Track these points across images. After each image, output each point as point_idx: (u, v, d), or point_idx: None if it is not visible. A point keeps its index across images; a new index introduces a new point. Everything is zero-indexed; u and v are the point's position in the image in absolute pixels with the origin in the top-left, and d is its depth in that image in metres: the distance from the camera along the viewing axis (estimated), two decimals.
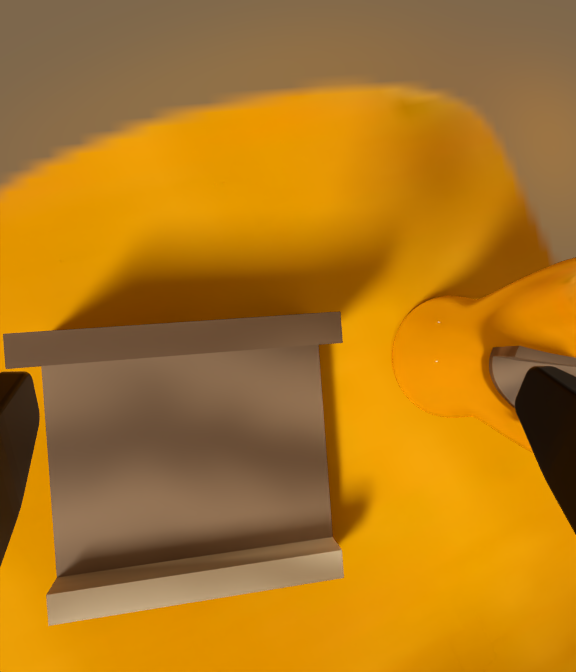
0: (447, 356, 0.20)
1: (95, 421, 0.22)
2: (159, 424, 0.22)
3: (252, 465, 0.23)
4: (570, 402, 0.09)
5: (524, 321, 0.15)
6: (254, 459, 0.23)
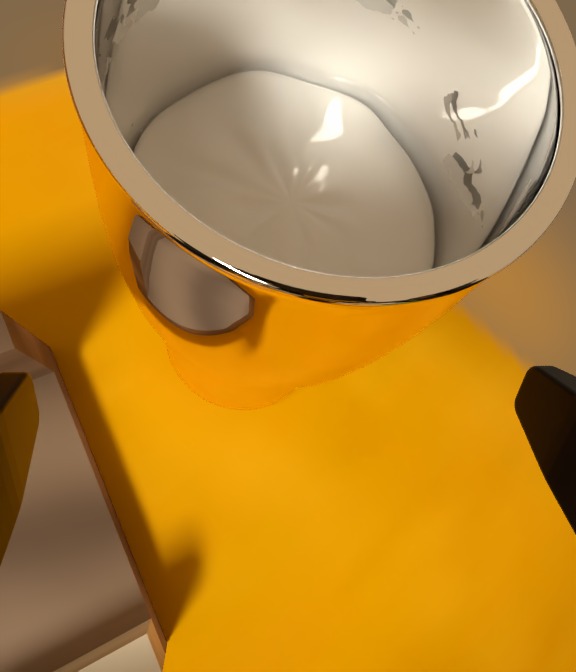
0: None
1: None
2: None
3: (5, 561, 0.16)
4: (570, 402, 0.09)
5: None
6: (6, 552, 0.16)
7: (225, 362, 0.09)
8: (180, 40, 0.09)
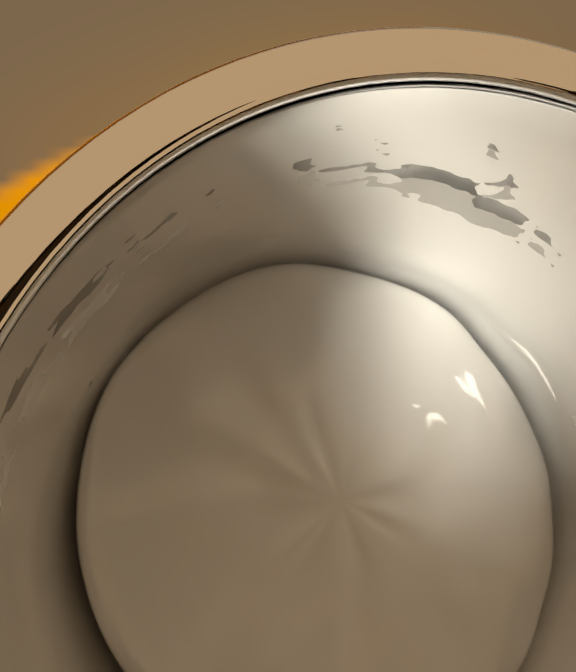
0: None
1: None
2: None
3: None
4: None
5: None
6: None
7: None
8: (161, 284, 0.05)
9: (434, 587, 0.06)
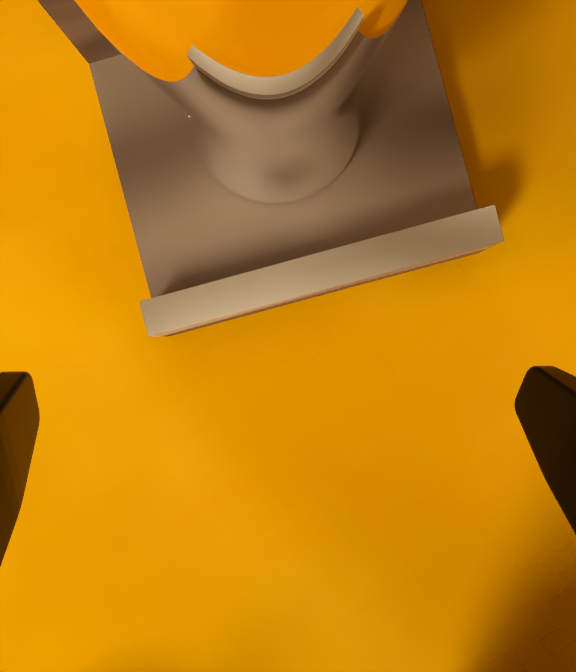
0: None
1: (161, 118, 0.18)
2: None
3: None
4: (570, 402, 0.09)
5: None
6: None
7: (192, 20, 0.07)
8: None
9: None
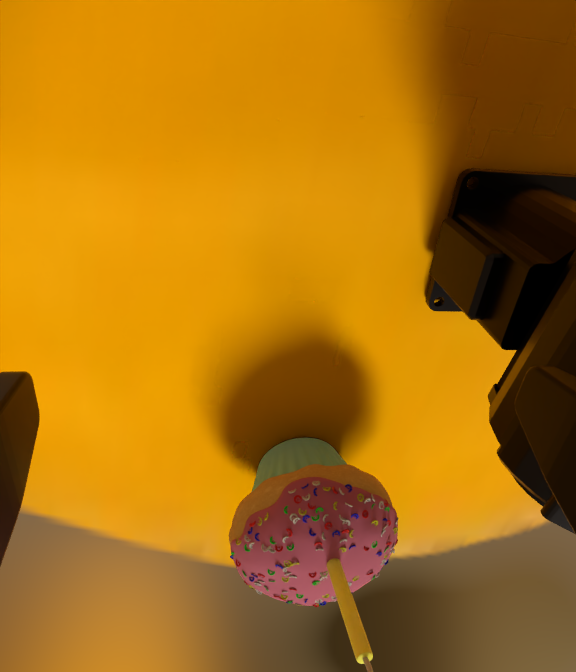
0: None
1: None
2: None
3: None
4: (570, 402, 0.09)
5: None
6: None
7: None
8: None
9: None
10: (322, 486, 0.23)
